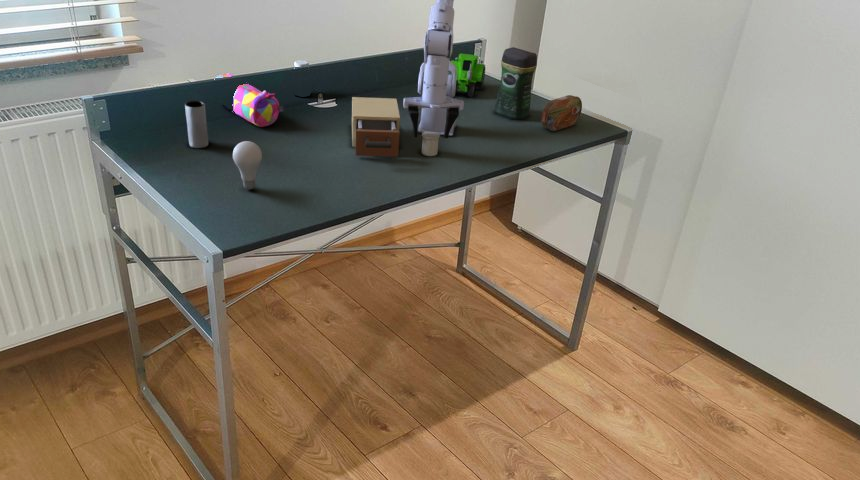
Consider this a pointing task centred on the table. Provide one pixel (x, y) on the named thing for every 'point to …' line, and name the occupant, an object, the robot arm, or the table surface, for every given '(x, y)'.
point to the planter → (196, 124)
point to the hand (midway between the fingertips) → (430, 136)
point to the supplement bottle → (301, 63)
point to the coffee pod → (430, 143)
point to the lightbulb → (247, 162)
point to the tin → (561, 112)
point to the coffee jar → (516, 83)
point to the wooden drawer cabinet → (373, 112)
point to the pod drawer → (376, 138)
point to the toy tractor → (469, 73)
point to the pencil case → (255, 104)
